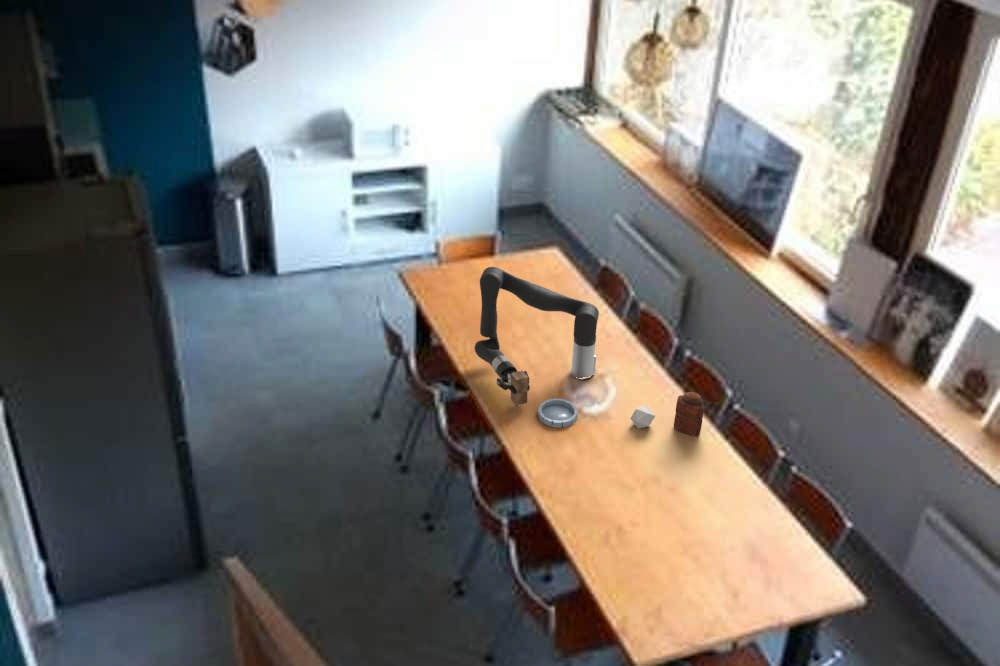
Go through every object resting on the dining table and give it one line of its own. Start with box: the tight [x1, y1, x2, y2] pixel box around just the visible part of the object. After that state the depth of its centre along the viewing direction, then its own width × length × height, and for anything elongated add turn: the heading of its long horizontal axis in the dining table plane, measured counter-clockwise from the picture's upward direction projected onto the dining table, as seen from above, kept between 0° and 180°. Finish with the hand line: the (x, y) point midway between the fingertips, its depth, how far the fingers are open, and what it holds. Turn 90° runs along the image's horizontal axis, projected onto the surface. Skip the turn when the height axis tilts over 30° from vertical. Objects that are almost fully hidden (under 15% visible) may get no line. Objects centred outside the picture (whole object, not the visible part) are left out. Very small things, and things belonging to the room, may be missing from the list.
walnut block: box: [510, 369, 529, 407], centre depth 419 cm, size 5×5×13 cm
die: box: [629, 405, 656, 430], centre depth 413 cm, size 8×9×10 cm
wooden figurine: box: [673, 391, 705, 437], centre depth 409 cm, size 12×6×18 cm, turn 61°
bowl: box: [537, 397, 578, 429], centre depth 419 cm, size 16×16×3 cm
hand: (522, 390), depth 417 cm, fingers closed on walnut block, 5 cm apart
